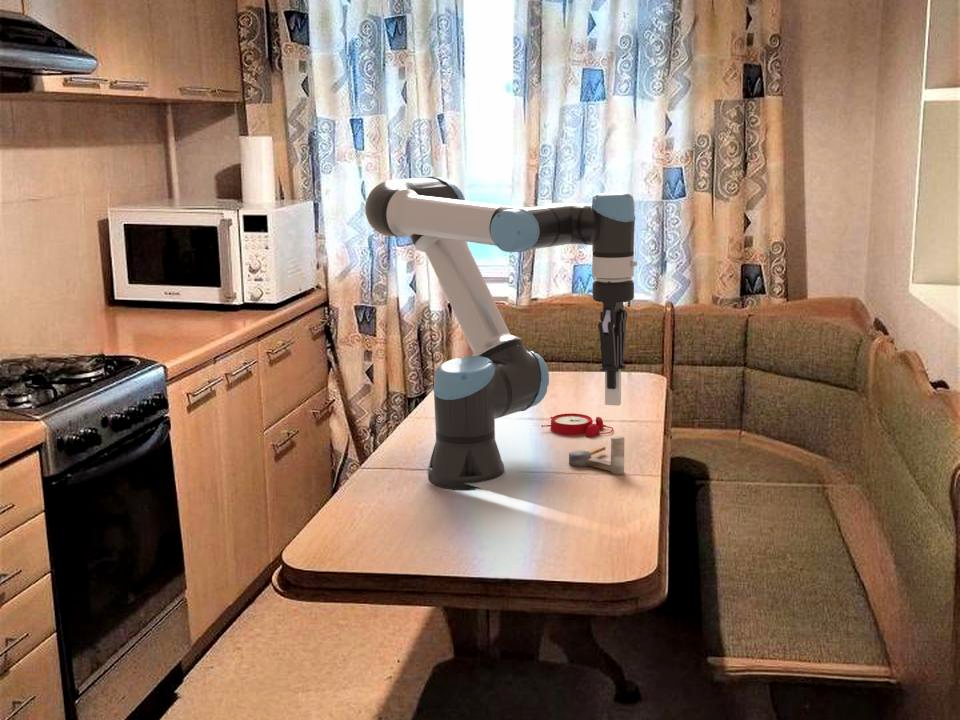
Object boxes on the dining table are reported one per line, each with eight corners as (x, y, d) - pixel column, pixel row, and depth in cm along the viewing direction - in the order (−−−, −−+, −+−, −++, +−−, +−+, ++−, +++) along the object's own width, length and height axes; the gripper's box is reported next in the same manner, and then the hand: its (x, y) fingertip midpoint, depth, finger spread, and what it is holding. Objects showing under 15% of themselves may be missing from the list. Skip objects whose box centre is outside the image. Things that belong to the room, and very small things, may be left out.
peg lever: (564, 463, 205) (564, 430, 203) (594, 451, 213) (595, 418, 211) (616, 476, 197) (616, 441, 195) (646, 463, 204) (646, 429, 203)
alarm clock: (550, 412, 235) (613, 402, 230) (556, 438, 236) (619, 429, 230) (537, 424, 226) (602, 415, 220) (543, 451, 227) (608, 442, 221)
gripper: (625, 284, 179) (624, 414, 184) (641, 274, 191) (640, 397, 196) (583, 283, 182) (584, 411, 187) (601, 273, 193) (601, 394, 198)
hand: (613, 404), depth 191 cm, fingers closed
